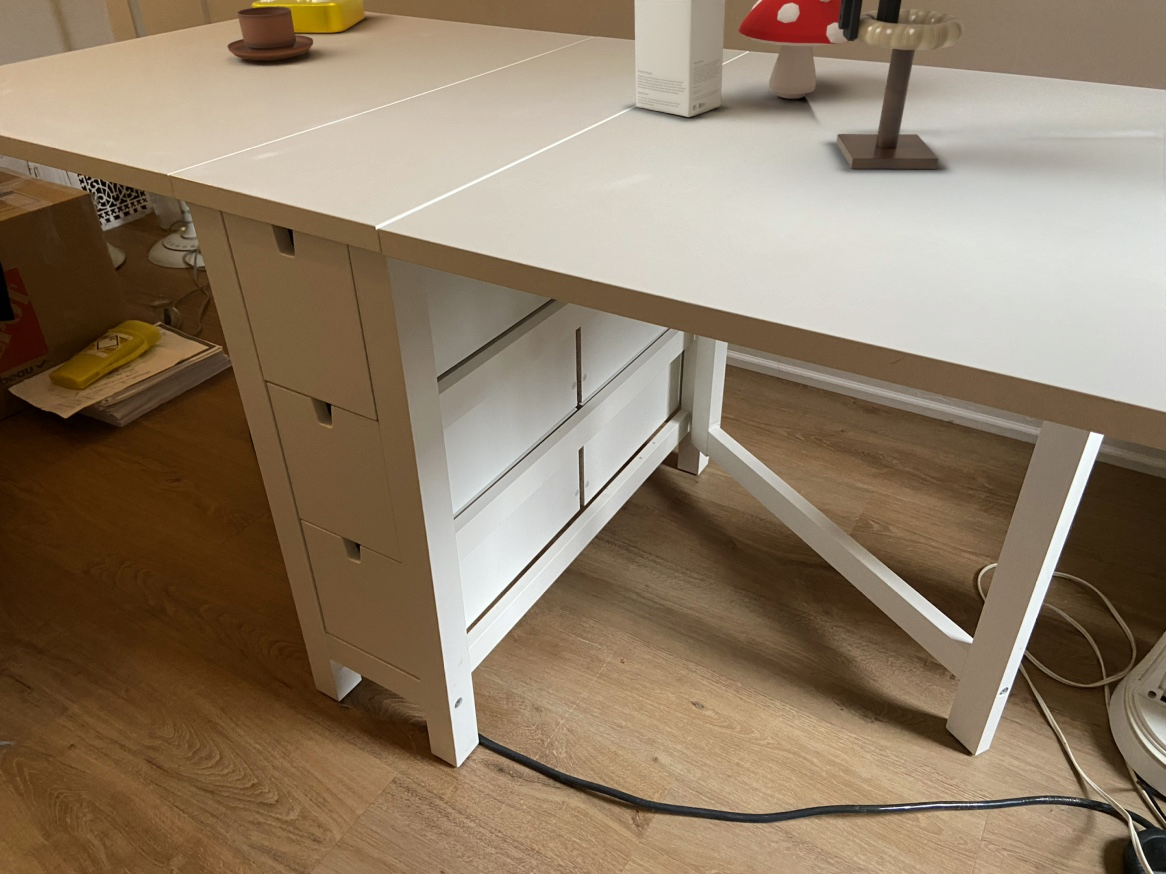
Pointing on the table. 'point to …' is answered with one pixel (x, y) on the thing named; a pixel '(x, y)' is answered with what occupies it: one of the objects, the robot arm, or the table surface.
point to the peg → (890, 127)
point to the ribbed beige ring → (911, 30)
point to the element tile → (320, 14)
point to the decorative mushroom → (794, 39)
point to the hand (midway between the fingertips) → (865, 36)
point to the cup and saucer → (268, 35)
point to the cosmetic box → (679, 55)
